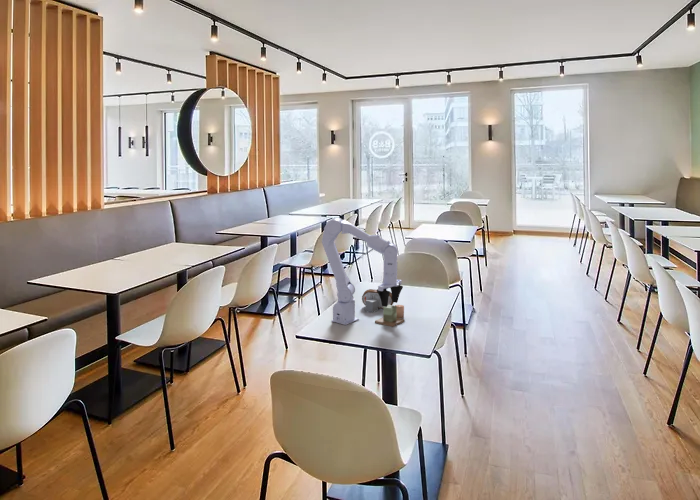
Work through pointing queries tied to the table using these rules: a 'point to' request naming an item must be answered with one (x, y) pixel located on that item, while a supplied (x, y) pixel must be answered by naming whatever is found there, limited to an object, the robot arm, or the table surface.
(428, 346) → the table surface
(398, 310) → the peach rounded capsule
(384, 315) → the green block
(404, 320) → the walnut board
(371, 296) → the tin
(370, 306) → the grey block
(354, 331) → the table surface
